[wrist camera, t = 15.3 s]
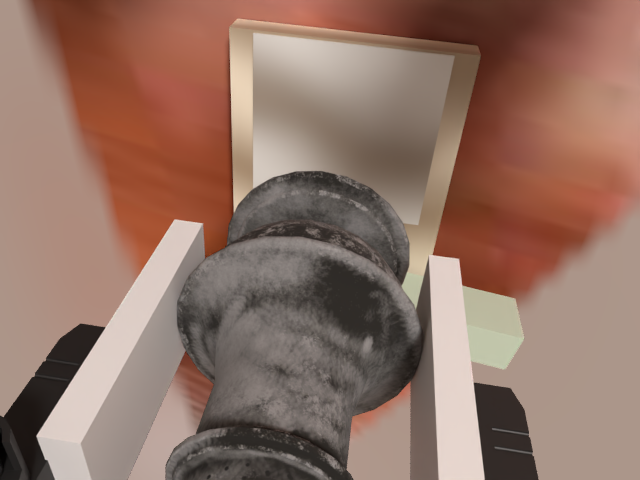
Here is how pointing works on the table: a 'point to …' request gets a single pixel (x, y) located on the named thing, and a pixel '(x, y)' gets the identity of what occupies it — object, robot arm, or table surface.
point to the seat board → (352, 114)
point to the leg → (483, 323)
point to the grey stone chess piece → (296, 330)
